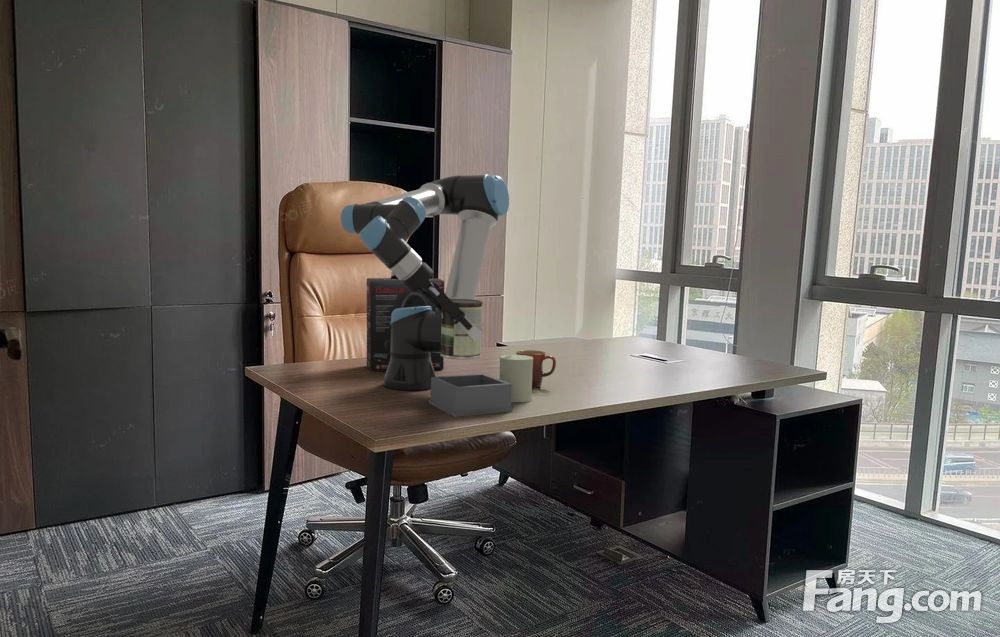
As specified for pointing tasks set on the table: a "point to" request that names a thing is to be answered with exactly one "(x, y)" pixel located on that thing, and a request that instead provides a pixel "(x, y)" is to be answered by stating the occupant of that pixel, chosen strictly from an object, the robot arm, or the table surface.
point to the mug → (538, 365)
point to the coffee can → (461, 332)
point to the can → (517, 376)
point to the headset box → (380, 306)
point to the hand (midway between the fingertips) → (473, 334)
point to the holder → (470, 394)
